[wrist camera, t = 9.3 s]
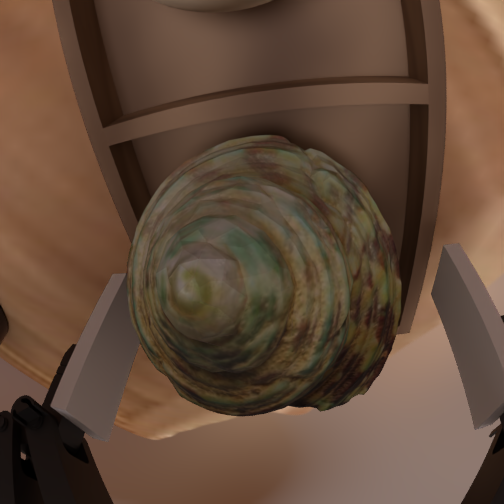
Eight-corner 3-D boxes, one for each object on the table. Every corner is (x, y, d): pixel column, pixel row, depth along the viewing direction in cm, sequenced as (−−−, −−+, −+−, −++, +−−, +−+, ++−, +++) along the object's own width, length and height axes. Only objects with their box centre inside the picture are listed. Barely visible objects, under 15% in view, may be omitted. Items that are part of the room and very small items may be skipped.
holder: (193, 315, 22) (185, 348, 20) (73, -93, 5) (41, -104, 3) (399, 299, 19) (409, 332, 17) (363, -150, 3) (376, -174, 1)
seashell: (192, 301, 20) (153, 455, 12) (158, 118, 13) (4, 268, 5) (361, 305, 19) (386, 462, 11) (402, 121, 12) (550, 281, 4)
